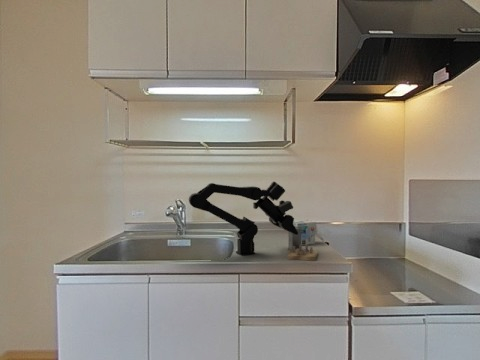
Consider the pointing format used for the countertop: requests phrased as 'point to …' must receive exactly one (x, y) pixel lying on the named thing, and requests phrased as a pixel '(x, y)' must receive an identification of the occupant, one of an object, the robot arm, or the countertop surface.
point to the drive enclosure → (294, 239)
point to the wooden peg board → (302, 253)
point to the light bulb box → (306, 231)
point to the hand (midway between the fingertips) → (293, 232)
